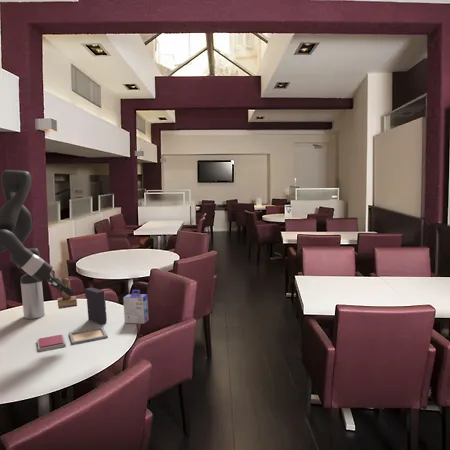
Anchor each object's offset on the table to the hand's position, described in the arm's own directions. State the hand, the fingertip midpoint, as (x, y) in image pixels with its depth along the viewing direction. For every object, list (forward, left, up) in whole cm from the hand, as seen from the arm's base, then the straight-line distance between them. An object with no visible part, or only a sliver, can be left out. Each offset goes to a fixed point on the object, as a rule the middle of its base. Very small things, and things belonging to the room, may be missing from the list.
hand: (71, 293), depth 176 cm
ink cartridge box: (-8, +28, -20) cm, 35 cm away
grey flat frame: (-1, +5, -20) cm, 20 cm away
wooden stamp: (0, -2, -5) cm, 5 cm away
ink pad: (0, -9, -20) cm, 22 cm away
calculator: (-18, +12, -20) cm, 29 cm away
